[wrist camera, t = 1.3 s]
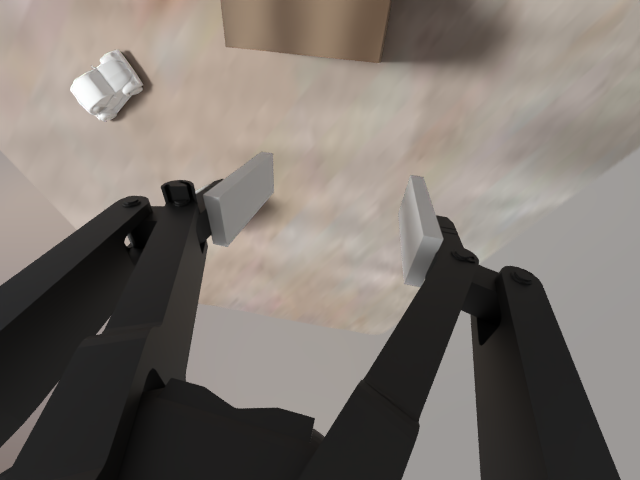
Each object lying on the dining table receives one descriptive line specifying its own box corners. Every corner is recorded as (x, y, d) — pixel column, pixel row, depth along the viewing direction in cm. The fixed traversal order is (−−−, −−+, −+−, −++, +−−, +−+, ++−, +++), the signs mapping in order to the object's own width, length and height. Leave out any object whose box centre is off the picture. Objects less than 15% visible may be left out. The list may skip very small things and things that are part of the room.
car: (110, 122, 44) (85, 128, 40) (79, 85, 41) (49, 87, 37) (152, 88, 39) (127, 91, 35) (120, 43, 36) (90, 41, 32)
